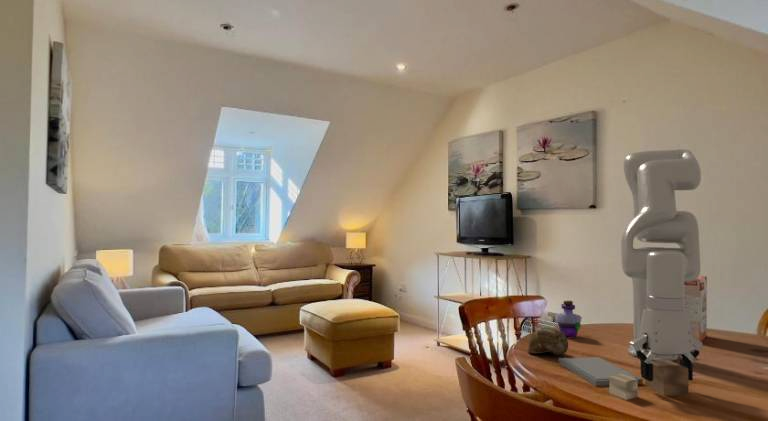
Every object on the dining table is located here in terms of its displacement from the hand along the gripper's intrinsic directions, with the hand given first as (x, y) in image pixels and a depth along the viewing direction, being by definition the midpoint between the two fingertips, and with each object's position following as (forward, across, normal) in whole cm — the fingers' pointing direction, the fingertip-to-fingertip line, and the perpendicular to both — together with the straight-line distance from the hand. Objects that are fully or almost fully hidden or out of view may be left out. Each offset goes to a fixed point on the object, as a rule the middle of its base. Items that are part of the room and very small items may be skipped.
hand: (666, 379), depth 104 cm
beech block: (+3, +12, +2) cm, 12 cm away
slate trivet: (+2, +9, -14) cm, 16 cm away
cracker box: (+2, -44, -44) cm, 62 cm away
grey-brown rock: (+3, +14, -31) cm, 34 cm away
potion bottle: (+2, -3, -50) cm, 51 cm away
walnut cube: (+3, 0, 0) cm, 3 cm away
